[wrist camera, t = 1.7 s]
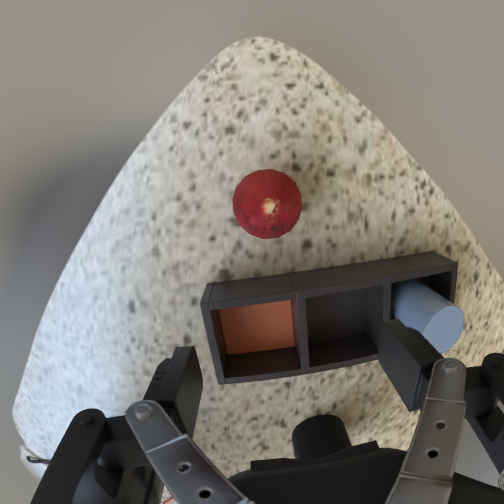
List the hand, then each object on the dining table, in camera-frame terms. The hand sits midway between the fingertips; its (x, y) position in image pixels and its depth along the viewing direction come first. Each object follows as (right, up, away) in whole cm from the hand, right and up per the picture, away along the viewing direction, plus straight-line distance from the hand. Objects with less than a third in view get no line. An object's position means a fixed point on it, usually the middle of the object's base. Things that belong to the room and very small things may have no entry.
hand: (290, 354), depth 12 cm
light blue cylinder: (+15, -1, +19) cm, 24 cm away
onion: (0, +9, +17) cm, 19 cm away
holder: (+7, -2, +19) cm, 21 cm away
